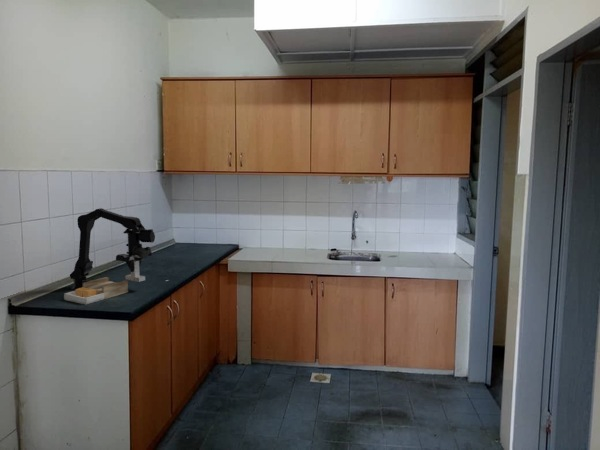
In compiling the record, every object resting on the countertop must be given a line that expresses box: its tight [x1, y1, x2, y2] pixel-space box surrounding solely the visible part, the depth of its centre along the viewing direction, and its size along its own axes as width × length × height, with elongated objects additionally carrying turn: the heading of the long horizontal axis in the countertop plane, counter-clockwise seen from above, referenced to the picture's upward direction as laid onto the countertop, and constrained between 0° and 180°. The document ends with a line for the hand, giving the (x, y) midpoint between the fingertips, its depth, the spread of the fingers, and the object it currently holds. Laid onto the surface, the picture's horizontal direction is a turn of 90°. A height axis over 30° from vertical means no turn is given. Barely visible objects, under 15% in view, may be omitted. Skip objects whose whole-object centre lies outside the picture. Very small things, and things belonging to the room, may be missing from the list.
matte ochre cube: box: [75, 287, 89, 297], centre depth 210 cm, size 4×4×4 cm
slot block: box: [83, 276, 129, 300], centre depth 218 cm, size 16×14×6 cm
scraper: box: [125, 260, 146, 283], centre depth 224 cm, size 10×4×10 cm, turn 62°
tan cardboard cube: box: [83, 289, 96, 298], centre depth 208 cm, size 4×4×4 cm
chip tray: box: [63, 290, 105, 306], centre depth 208 cm, size 16×10×3 cm, turn 62°
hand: (134, 271), depth 224 cm, fingers closed on scraper, 3 cm apart
